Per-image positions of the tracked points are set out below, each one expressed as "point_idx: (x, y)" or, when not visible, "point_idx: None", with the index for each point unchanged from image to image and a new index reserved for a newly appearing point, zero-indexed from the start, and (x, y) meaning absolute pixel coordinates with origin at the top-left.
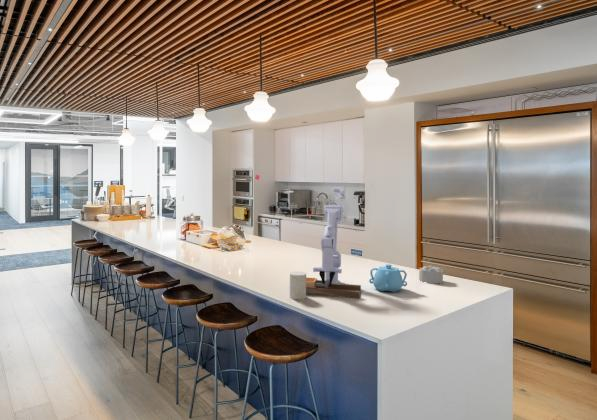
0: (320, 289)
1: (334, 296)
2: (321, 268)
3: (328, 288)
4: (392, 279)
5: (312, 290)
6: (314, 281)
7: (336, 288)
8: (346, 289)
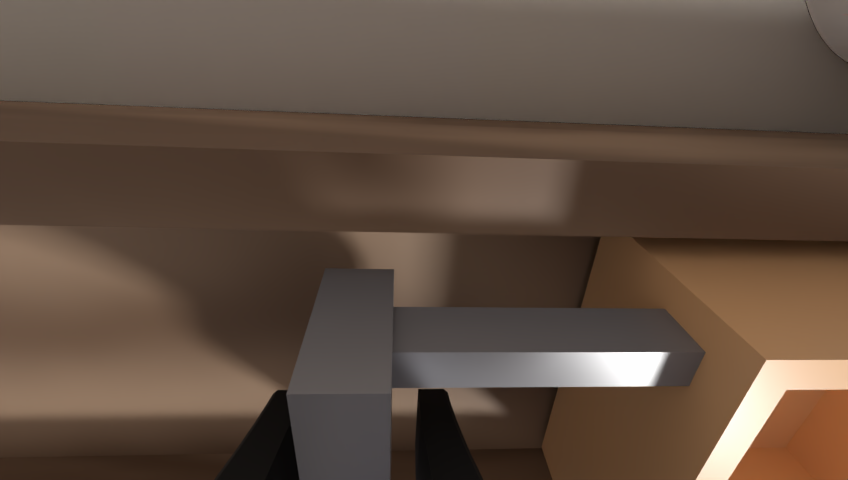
0: (495, 152)
1: (165, 108)
2: None
3: None
4: None
5: (686, 149)
6: (734, 433)
7: None
8: (82, 458)
